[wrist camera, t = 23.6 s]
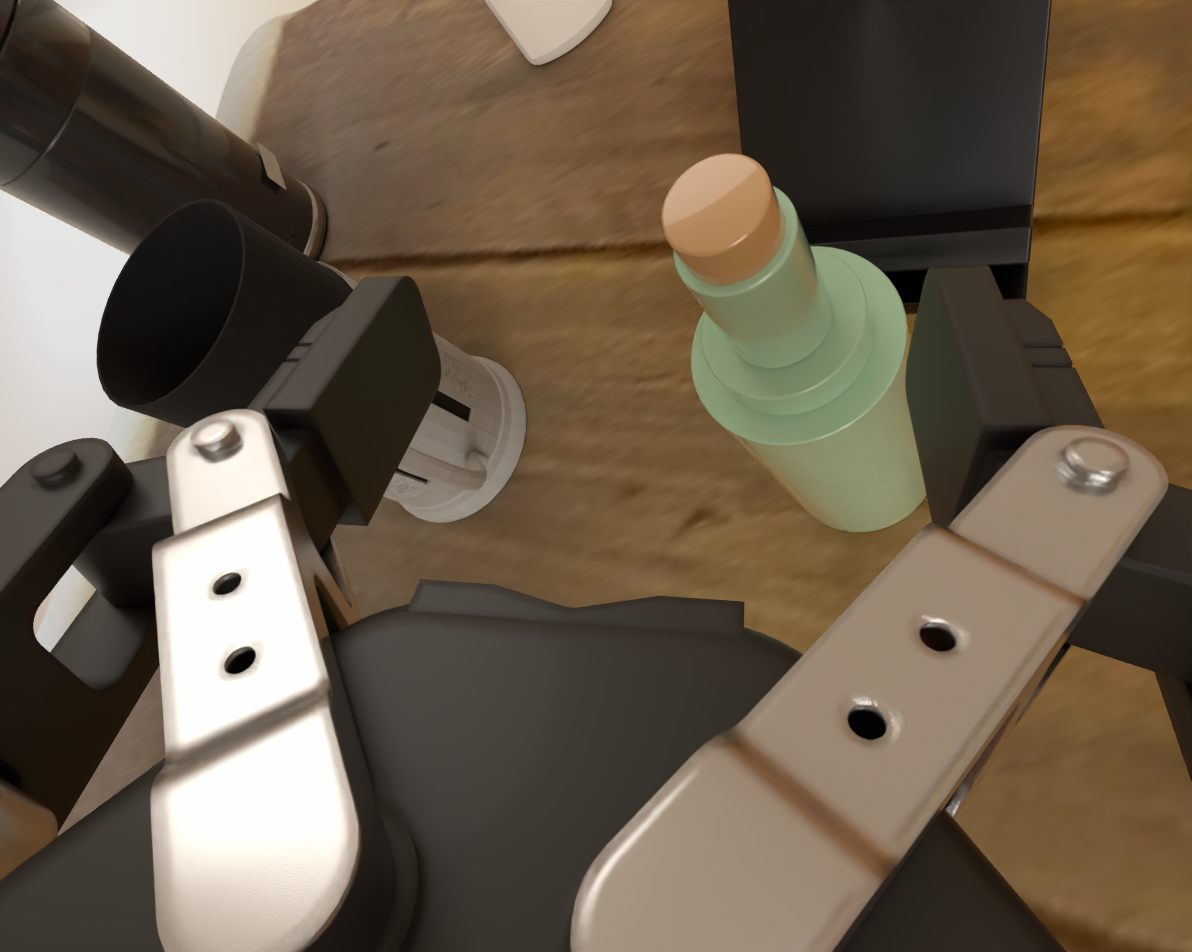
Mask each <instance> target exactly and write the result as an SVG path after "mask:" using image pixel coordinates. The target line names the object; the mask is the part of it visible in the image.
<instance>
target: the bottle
mask: <svg viewBox="0 0 1192 952" xmlns="http://www.w3.org/2000/svg"><path fill="white" fill-rule="evenodd" d="M661 225H662V230H663V233H664V236H665V238H666V240H667V242H668V243H669V244H670V246H671V247H672V249H673V250H674V264H675V268H676V271H677V273H678V275H679V277H680V279H681V280H682V281H683V283H684V284H685V285H686V287H687V288H688V289H689V291H690V292H691V293H692V295H693V296H694V297H695V299H696V300H697V302H698V303H699V304H700V306H701V307H702V308H703V310H704V312H703V314H702V316H701V318H700V320H699V323H698V325H697V328H696V331H695V334H694V338H693V342H692V349H691V372H692V378H693V383H694V386H695V389H696V392H697V394H698V396H699V398H700V400H701V402H702V404H703V406H704V407H705V408H706V410H707V411H708V413H709V414H710V415H711V416H712V417H713V418H714V419H715V420H716V421H717V422H718V423H719V424H720V425H721V426H722V427H723V428H724V429H725V430H726V431H727V432H728V433H729V434H730V435H731V436H732V437H733V438H734V439H735V440H736V441H737V442H738V443H739V444H740V445H741V446H742V447H743V448H744V449H745V450H746V451H747V452H748V453H749V454H750V455H751V456H752V457H753V458H754V459H755V460H756V461H757V462H758V463H759V464H760V465H761V466H762V467H763V468H764V469H765V470H766V471H767V472H768V473H769V474H770V475H771V476H772V477H773V478H774V479H775V480H776V481H777V482H778V483H779V484H780V485H781V486H782V487H783V488H784V489H785V490H786V491H787V492H788V493H789V494H790V495H791V496H792V497H793V498H794V499H795V500H796V501H797V502H798V503H799V505H800V506H801V507H802V508H803V509H804V510H805V511H806V512H807V513H809V514H810V515H811V516H812V517H814V518H815V519H816V520H818V521H820V522H821V523H823V524H825V525H827V526H829V527H832V528H835V529H838V530H843V531H849V532H869V531H874V530H879V529H882V528H885V527H888V526H891V525H893V524H895V523H897V522H899V521H900V520H902V519H904V518H905V517H907V516H908V515H909V514H910V513H911V512H913V511H914V510H915V509H916V508H917V507H918V505H919V504H920V503H921V502H922V501H923V499H924V498H925V496H926V495H927V494H926V489H925V484H924V480H923V475H922V470H921V465H920V460H919V456H918V451H917V446H916V441H915V437H914V432H913V427H912V422H911V417H910V413H909V408H908V403H907V398H906V389H905V377H906V365H907V358H908V353H909V348H910V344H911V336H910V332H909V327H908V322H907V318H906V313H905V310H904V306H903V303H902V300H901V298H900V296H899V294H898V292H897V289H896V288H895V287H894V285H893V284H892V282H891V281H890V279H889V278H888V277H887V276H886V275H885V274H884V273H883V272H882V271H881V270H880V269H879V268H878V267H876V266H875V265H874V264H872V263H871V262H870V261H868V260H866V259H864V258H862V257H860V256H859V255H856V254H853V253H851V252H848V251H845V250H841V249H837V248H832V247H822V246H810V245H809V242H808V240H807V237H806V235H805V232H804V230H803V227H802V225H801V222H800V220H799V217H798V214H797V212H796V210H795V207H794V205H793V203H792V202H791V200H790V199H789V197H788V196H787V195H786V194H785V193H784V192H782V191H781V190H780V189H778V188H776V187H774V186H773V185H772V183H771V181H770V178H769V176H768V173H767V172H766V170H765V169H764V168H763V166H762V165H761V164H760V163H758V162H757V161H756V160H754V159H752V158H750V157H748V156H745V155H742V154H736V153H725V154H719V155H714V156H711V157H708V158H706V159H704V160H701V161H700V162H698V163H696V164H694V165H693V166H692V167H690V168H689V169H688V170H686V171H685V172H684V173H683V174H682V175H681V176H680V177H679V178H678V179H677V180H676V182H675V183H674V184H673V185H672V187H671V189H670V190H669V192H668V194H667V196H666V198H665V201H664V204H663V208H662V214H661Z"/></svg>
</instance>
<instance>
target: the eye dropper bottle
mask: <svg viewBox="0 0 1192 952" xmlns="http://www.w3.org/2000/svg"><path fill="white" fill-rule="evenodd" d="M484 1H485V3H486V4H487V5H488V7H489V8H490V10H491V11H492V12H493V14H494V15H495V16H496V18H497V19H498V21H499V22H500V23H501V25H502V26H503V27H504V29H505V30H506V32H507V33H508V34H509V36H510V37H511V38H512V40H513V41H514V43H515V44H516V45H517V47H518V48H519V49H520V51H521V52H522V54H523V55H524V56H525V58H526V59H527V60H528V61H529V62H530V63H532V64H533V65H542V64H545V63H547V62H550V61H552V60H554V59H556V58H558V57H560V56H562V55H563V54H565V53H567V52H568V51H570V50H571V49H573V48H574V47H575V46H577V45H578V44H579V43H581V42H582V41H583V40H584V39H585V38H586V37H587V36H588V35H589V34H590V33H591V32H592V31H593V30H594V29H595V28H596V27H597V26H598V25H599V24H600V22H601V21H602V20H603V19H604V17H605V16H606V15H607V13H608V12H609V10H610V8H611V5H612V0H484Z"/></svg>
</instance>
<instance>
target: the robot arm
mask: <svg viewBox="0 0 1192 952" xmlns="http://www.w3.org/2000/svg"><path fill="white" fill-rule="evenodd" d="M257 144H258V147H259V151H260V152H258V151H257V150H256V149H254V148H253V147H252V146H250V145H249V144H248V143H246V142H245V141H244V140H242V139H241V138H239V137H238V136H237V135H235V134H234V133H233V132H231V131H230V130H229V129H227V128H226V127H225V126H223V125H222V124H221V123H219V122H218V121H216V120H215V119H214V118H212V117H211V116H210V115H208V114H207V113H206V112H204V111H203V110H202V109H200V108H199V107H198V106H196V105H195V104H193V103H192V102H191V101H189V100H188V99H187V98H185V97H184V96H182V95H181V94H180V93H179V92H177V91H176V90H175V89H173V88H172V87H170V86H169V85H168V84H166V83H165V82H164V81H162V80H161V79H160V78H158V77H157V76H156V75H154V74H153V73H152V72H150V71H149V70H147V69H146V68H145V67H143V66H142V65H141V64H139V63H138V62H137V61H135V60H134V59H132V58H131V57H130V56H128V55H127V54H126V53H124V52H123V51H121V50H120V49H119V48H118V47H116V46H115V45H114V44H112V43H111V42H110V41H108V40H107V39H105V38H104V37H103V36H101V35H100V34H98V33H97V32H96V31H95V30H93V29H92V28H91V27H89V26H88V25H86V24H85V23H84V22H82V21H81V20H79V19H78V18H77V17H75V16H74V15H73V14H71V13H70V12H68V11H67V10H66V9H64V8H63V7H62V6H60V5H59V4H58V3H56V2H55V1H54V0H0V189H1V190H3V191H5V192H7V193H9V194H11V195H13V196H15V197H16V198H19V199H20V200H23V201H24V202H26V203H28V204H30V205H32V206H34V207H36V208H38V209H40V210H42V211H44V212H46V213H48V214H50V215H52V216H54V217H56V218H58V219H60V220H62V221H63V222H66V223H67V224H69V225H71V226H73V227H75V228H77V229H79V230H81V231H83V232H85V233H87V234H89V235H91V236H93V237H95V238H97V239H99V240H101V241H103V242H104V243H107V244H108V245H110V246H112V247H114V248H116V249H118V250H120V251H122V252H124V253H126V254H128V255H130V256H131V254H132V253H133V251H134V250H135V249H136V247H137V246H138V245H139V243H140V242H141V241H142V240H143V238H144V237H145V236H146V235H147V234H148V233H149V232H150V231H151V230H152V229H153V228H154V226H155V225H156V224H158V223H159V222H160V221H161V220H162V219H164V218H165V217H166V216H167V215H168V214H170V213H171V212H173V211H174V210H176V209H178V208H179V207H181V206H183V205H185V204H188V203H190V202H192V201H196V200H201V199H216V200H218V201H221V202H224V203H226V204H227V205H229V206H230V207H232V208H234V209H235V210H237V211H238V212H240V213H241V214H243V215H244V216H246V217H248V218H249V219H251V220H252V221H254V222H255V223H257V224H258V225H260V226H262V227H263V228H265V229H266V230H268V231H269V232H271V233H272V234H274V235H276V236H277V237H279V238H280V239H282V240H283V241H285V242H287V243H288V244H290V245H291V246H293V247H294V248H296V249H297V250H299V251H301V252H302V253H304V254H305V255H307V256H308V257H310V258H311V259H313V260H315V261H316V260H317V258H318V256H319V253H320V251H321V247H322V244H323V240H324V235H325V228H326V215H325V209H324V205H323V203H322V200H321V199H320V197H319V196H318V195H317V193H316V192H314V191H313V190H312V189H310V188H309V187H308V186H306V185H305V184H304V183H302V182H301V181H299V180H297V179H294V178H293V177H292V176H290V175H289V174H288V173H286V172H285V171H284V170H282V169H281V168H280V167H279V166H278V163H277V160H276V157H275V155H274V154H273V153H271V152H270V151H269V150H267V149H266V148H265V147H263V146H262V145H261V144H259V143H258V142H257ZM1062 346H1063V342H1062V340H1061V338H1060V336H1059V334H1058V332H1057V330H1056V328H1055V326H1054V324H1053V322H1052V320H1051V319H1049V318H1048V317H1047V316H1046V315H1044V314H1043V313H1042V312H1040V311H1039V310H1038V309H1036V308H1035V307H1034V306H1033V305H1031V304H1030V303H1029V302H1027V301H1026V300H1003V297H1002V295H1001V293H1000V290H999V288H998V286H997V283H996V281H995V279H994V276H993V274H992V271H991V269H990V267H989V266H987V265H967V266H932V267H930V268H929V270H928V272H927V274H926V277H925V280H924V284H923V289H922V293H921V298H920V303H919V307H918V312H917V316H916V321H915V325H914V330H913V335H912V339H911V344H910V348H909V353H908V358H907V365H906V377H905V389H906V398H907V403H908V408H909V413H910V417H911V422H912V427H913V432H914V437H915V441H916V446H917V451H918V456H919V460H920V465H921V470H922V475H923V480H924V484H925V489H926V494H927V499H928V503H929V508H930V513H931V518H932V523H930V524H928V525H926V526H925V527H924V528H923V529H922V530H921V531H920V532H919V533H918V534H917V535H916V536H915V537H914V538H913V539H912V540H911V541H910V542H909V543H908V544H907V545H906V546H905V547H904V548H903V549H902V551H901V552H900V553H899V554H898V555H897V556H896V557H895V558H894V559H893V560H892V561H891V562H890V563H889V564H888V565H887V567H886V568H885V569H884V570H883V571H882V572H881V573H880V574H879V575H878V576H877V577H876V578H875V579H874V580H873V581H872V583H871V584H870V585H869V586H868V587H867V588H866V589H865V590H864V591H863V592H862V593H861V594H860V595H859V596H858V597H857V598H856V600H855V601H854V602H853V603H852V604H851V605H850V606H849V607H848V608H847V609H846V610H845V611H844V612H843V613H842V614H841V616H840V617H839V618H838V619H837V620H836V621H835V622H834V623H833V624H832V625H831V626H830V627H829V628H828V629H827V630H826V632H825V633H824V634H823V635H822V636H821V637H820V638H819V639H818V640H817V641H816V642H815V643H814V644H813V645H812V646H811V647H810V649H809V650H808V651H807V652H806V653H805V654H804V655H803V654H801V653H800V652H798V651H796V650H795V649H793V648H791V647H789V646H788V645H786V644H784V643H782V642H781V641H779V640H776V639H774V638H772V637H770V636H767V635H765V634H763V633H760V632H757V631H754V630H751V629H748V628H745V627H744V602H740V601H726V600H711V599H697V598H682V597H668V596H655V597H648V598H641V599H635V600H628V601H621V602H614V603H607V604H600V605H593V606H587V607H580V608H568V607H564V606H560V605H557V604H554V603H551V602H548V601H544V600H541V599H538V598H535V597H532V596H529V595H526V594H522V593H519V592H516V591H513V590H510V589H507V588H504V587H500V586H497V585H493V584H478V583H464V582H449V581H435V580H420V581H419V584H418V586H417V588H416V591H415V593H414V596H413V598H412V600H411V603H410V604H408V605H403V606H399V607H395V608H392V609H388V610H384V611H381V612H379V613H376V614H373V615H370V616H368V617H365V618H363V619H362V618H361V615H360V612H359V609H358V606H357V603H356V600H355V597H354V594H353V591H352V588H351V585H350V582H349V579H348V577H347V574H346V571H345V568H344V565H343V562H342V559H341V556H340V553H339V550H338V547H337V545H336V543H335V542H334V540H333V538H332V536H331V534H332V532H333V531H334V529H335V527H336V525H337V524H344V525H363V526H368V524H369V522H370V520H371V518H372V516H373V514H374V512H375V510H376V509H377V507H378V505H379V503H380V501H381V499H382V497H383V495H384V493H385V491H386V489H387V487H388V485H389V483H390V482H391V480H392V478H393V476H394V474H395V472H396V470H397V468H398V466H399V464H400V462H401V460H402V458H403V456H404V455H405V453H406V451H407V449H408V447H409V445H410V443H411V441H412V439H413V437H414V435H415V433H416V431H417V430H418V428H419V426H420V424H421V422H422V420H423V418H424V416H425V414H426V412H427V410H428V408H429V406H430V404H431V403H432V401H433V399H434V397H435V395H436V393H437V391H438V388H439V385H440V381H441V360H440V355H439V352H438V349H437V345H436V342H435V339H434V336H433V333H432V330H431V327H430V323H429V320H428V317H427V314H426V311H425V308H424V305H423V301H422V298H421V295H420V292H419V289H418V287H417V285H416V283H415V282H414V280H413V279H412V278H410V277H408V276H393V277H365V278H363V279H362V280H361V281H360V282H359V284H358V285H357V286H356V287H355V289H354V290H353V291H352V293H351V294H350V295H349V296H348V298H347V299H346V300H345V302H344V303H343V304H342V306H341V307H337V308H336V309H335V310H333V311H332V312H330V313H329V314H327V315H326V316H324V317H323V318H322V319H320V320H319V321H317V322H316V323H314V324H313V325H312V327H311V328H310V329H309V331H308V332H307V333H306V334H305V336H304V337H303V338H302V339H301V341H300V342H299V347H295V348H294V349H293V351H292V352H291V353H290V354H289V356H288V357H287V358H286V359H287V362H283V363H282V364H281V366H280V367H279V368H278V370H277V371H276V372H275V373H274V375H273V376H272V377H271V378H270V380H269V381H268V382H267V383H266V385H265V386H264V387H263V388H262V390H261V391H260V392H259V393H258V395H257V396H256V397H255V398H254V400H253V401H252V402H251V403H250V405H249V406H248V407H247V409H236V410H228V411H224V412H220V413H217V414H214V415H211V416H209V417H206V418H204V419H202V420H200V421H198V422H196V423H195V424H193V425H191V426H190V427H188V428H187V429H186V430H184V431H183V432H182V433H181V434H180V435H179V436H178V437H177V438H176V439H175V440H174V441H173V442H172V444H171V446H170V447H169V449H168V452H167V455H166V456H161V457H156V458H151V459H146V460H141V461H136V462H131V463H126V464H125V463H124V462H123V461H122V460H121V458H120V457H119V456H118V454H117V453H116V452H115V451H114V449H113V448H112V447H111V445H110V444H109V443H108V442H106V441H104V440H102V439H97V438H82V439H77V440H72V441H69V442H65V443H62V444H60V445H57V446H54V447H53V448H50V449H48V450H46V451H44V452H42V453H40V454H38V455H37V456H35V457H34V458H33V459H31V460H29V461H28V462H27V463H25V464H24V465H23V466H22V467H21V468H20V469H19V470H17V471H16V472H15V474H13V475H12V476H11V478H10V479H9V480H8V481H7V482H6V483H5V484H4V485H3V486H2V487H1V488H0V952H1066V950H1065V949H1064V948H1063V947H1062V946H1061V945H1060V943H1059V942H1058V941H1057V940H1056V939H1055V937H1054V936H1053V935H1052V934H1051V933H1050V932H1049V930H1048V929H1047V928H1046V927H1045V926H1044V925H1043V923H1042V922H1041V921H1040V920H1039V919H1038V918H1037V916H1036V915H1035V914H1034V913H1033V912H1032V910H1031V909H1030V908H1029V907H1028V906H1027V905H1026V903H1025V902H1024V901H1023V900H1022V899H1021V898H1020V896H1019V895H1018V894H1017V893H1016V892H1015V890H1014V889H1013V888H1012V887H1011V886H1010V885H1009V883H1008V882H1007V881H1006V880H1005V879H1004V878H1003V876H1002V875H1001V874H1000V873H999V872H998V871H997V869H996V868H995V867H994V866H993V865H992V863H991V862H990V861H989V860H988V859H987V858H986V856H985V855H984V854H983V853H982V852H981V851H980V849H979V848H978V847H977V846H976V845H975V843H974V842H973V841H972V840H971V839H970V838H969V836H968V835H967V834H966V833H965V832H964V831H963V829H962V828H961V827H960V826H959V825H958V824H957V822H956V821H955V820H954V819H955V818H956V816H957V815H958V813H959V812H960V810H961V809H962V807H963V806H964V805H965V803H966V802H967V800H968V799H969V797H970V796H971V794H972V793H973V791H974V790H975V788H976V787H977V785H978V784H979V782H980V781H981V779H982V778H983V776H984V775H985V773H986V772H987V770H988V768H989V767H990V765H991V764H992V762H993V761H994V759H995V757H996V756H997V754H998V753H999V751H1000V750H1001V748H1002V747H1003V745H1004V744H1005V742H1006V741H1007V739H1008V738H1009V737H1010V735H1011V734H1012V732H1013V731H1014V729H1015V728H1016V726H1017V725H1018V724H1019V722H1020V721H1021V719H1022V718H1023V716H1024V715H1025V713H1026V712H1027V711H1028V709H1029V708H1030V706H1031V705H1032V703H1033V702H1034V700H1035V699H1036V698H1037V696H1038V695H1039V693H1040V692H1041V690H1042V689H1043V688H1044V686H1045V685H1046V683H1047V682H1048V680H1049V679H1050V677H1051V676H1052V675H1053V673H1054V672H1055V670H1056V669H1057V667H1058V666H1059V664H1060V663H1061V662H1062V660H1063V659H1064V657H1065V656H1066V654H1067V653H1068V652H1069V650H1070V649H1071V647H1072V646H1073V645H1074V646H1077V647H1080V648H1083V649H1086V650H1089V651H1093V652H1096V653H1099V654H1102V655H1105V656H1108V657H1111V658H1114V659H1117V660H1120V661H1123V662H1126V663H1129V664H1133V665H1136V666H1139V667H1142V668H1145V669H1148V670H1151V671H1154V672H1155V675H1156V678H1157V681H1158V684H1159V687H1160V690H1161V693H1162V696H1163V699H1164V702H1165V705H1166V708H1167V711H1168V713H1169V716H1170V719H1171V722H1172V725H1173V728H1174V731H1175V734H1176V737H1177V740H1178V743H1179V746H1180V749H1181V752H1182V755H1183V758H1184V761H1185V763H1186V766H1187V769H1188V772H1189V775H1190V778H1191V781H1192V490H1190V489H1186V488H1183V487H1179V486H1176V485H1174V484H1171V483H1168V477H1167V473H1166V471H1165V469H1164V467H1163V465H1162V464H1161V463H1160V461H1159V460H1158V459H1157V458H1156V457H1155V456H1154V455H1153V454H1152V453H1151V452H1150V451H1148V450H1147V449H1146V448H1144V447H1143V446H1141V445H1140V444H1138V443H1136V442H1135V441H1133V440H1131V439H1129V438H1127V437H1124V436H1122V435H1120V434H1117V433H1114V432H1111V431H1108V430H1105V428H1104V426H1103V424H1102V422H1101V420H1100V418H1099V416H1098V414H1097V412H1096V410H1095V408H1094V405H1093V403H1092V401H1091V399H1090V397H1089V395H1088V393H1087V391H1086V389H1085V387H1084V385H1083V383H1082V381H1081V379H1080V377H1079V375H1078V373H1077V371H1076V369H1075V368H1072V361H1071V359H1070V357H1069V355H1068V353H1067V351H1066V349H1065V348H1062ZM71 565H73V566H74V567H75V568H76V569H77V570H78V571H79V572H80V573H81V574H82V575H83V576H84V577H85V578H86V579H87V580H88V581H89V582H90V583H91V584H92V585H93V586H94V587H95V588H96V589H97V590H96V591H95V592H94V594H93V595H92V596H91V598H90V599H89V601H88V602H87V603H86V605H85V606H84V607H83V609H82V610H81V611H80V613H79V614H78V615H77V617H76V618H75V620H74V621H73V622H72V624H71V625H70V626H69V628H68V629H67V630H66V632H65V633H64V635H63V636H62V637H61V639H60V640H59V641H58V643H57V644H56V645H55V647H54V648H53V650H52V651H51V652H48V651H47V650H46V649H45V648H44V647H43V646H41V645H40V644H39V642H38V641H37V639H36V637H35V635H34V630H33V622H34V617H35V614H36V611H37V609H38V607H39V606H40V604H41V603H42V602H43V600H44V599H45V598H46V597H47V595H48V594H49V593H50V592H51V590H52V589H53V588H54V587H55V585H56V584H57V583H58V581H59V580H60V579H61V578H62V576H63V575H64V574H65V573H66V571H67V570H68V569H69V567H70V566H71ZM159 665H160V677H161V691H162V705H163V720H164V734H165V748H166V758H164V759H163V760H162V761H160V762H159V763H157V764H156V765H155V766H153V767H152V768H151V769H149V770H148V771H147V772H145V773H144V774H143V775H141V776H140V777H138V778H137V779H136V780H134V781H133V782H132V783H130V784H129V785H128V786H126V787H125V788H123V789H122V790H121V791H119V792H118V793H117V794H115V795H114V796H113V797H111V798H110V799H109V800H107V801H106V802H104V803H103V804H102V805H100V806H99V807H98V808H96V809H95V810H94V811H92V812H91V813H90V814H88V815H87V816H85V817H84V818H83V819H81V820H80V821H79V822H77V823H76V824H75V825H73V826H72V827H71V828H69V829H68V830H66V831H65V832H64V833H62V834H61V835H60V836H58V832H59V830H60V828H61V827H62V825H63V824H64V822H65V820H66V819H67V817H68V815H69V814H70V812H71V810H72V809H73V807H74V805H75V804H76V802H77V800H78V799H79V797H80V795H81V794H82V792H83V790H84V789H85V787H86V785H87V784H88V782H89V780H90V779H91V777H92V776H93V774H94V772H95V771H96V769H97V767H98V766H99V764H100V762H101V761H102V759H103V757H104V756H105V754H106V752H107V751H108V749H109V747H110V746H111V744H112V742H113V741H114V739H115V737H116V736H117V734H118V732H119V731H120V729H121V728H122V726H123V724H124V723H125V721H126V719H127V718H128V716H129V714H130V713H131V711H132V709H133V708H134V706H135V704H136V703H137V701H138V699H139V698H140V696H141V694H142V693H143V691H144V689H145V688H146V686H147V684H148V683H149V681H150V680H151V678H152V676H153V675H154V673H155V671H156V670H157V668H158V666H159ZM57 836H58V837H57Z"/></svg>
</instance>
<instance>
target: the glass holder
mask: <svg viewBox="0 0 1192 952" xmlns="http://www.w3.org/2000/svg"><path fill="white" fill-rule="evenodd" d="M358 284H359V283H357V282H356V281H354V280H353V279H351V278H349V277H348V276H346V275H345V274H343V273H342V272H340V271H339V270H337V269H336V268H334V267H333V266H331V265H328V264H326V263H324V262H321V261H317V262H316V261H315V260H313V259H311V258H310V257H308V256H307V255H305V254H304V253H302V252H301V251H299V250H297V249H296V248H294V247H293V246H291V245H290V244H288V243H287V242H285V241H283V240H282V239H280V238H279V237H277V236H276V235H274V234H272V233H271V232H269V231H268V230H266V229H265V228H263V227H262V226H260V225H258V224H257V223H255V222H254V221H252V220H251V219H249V218H248V217H246V216H244V215H243V214H241V213H240V212H238V211H237V210H235V209H234V208H232V207H230V206H229V205H227V204H226V203H224V202H221V201H218V200H216V199H201V200H196V201H192V202H190V203H188V204H185V205H183V206H181V207H179V208H178V209H176V210H174V211H173V212H171V213H170V214H168V215H167V216H166V217H165V218H164V219H162V220H161V221H160V222H159V223H158V224H156V225H155V226H154V228H153V229H152V230H151V231H150V232H149V233H148V234H147V235H146V236H145V237H144V238H143V240H142V241H141V242H140V243H139V245H138V246H137V247H136V249H135V250H134V251H133V253H132V254H131V256H130V257H129V259H128V261H127V262H126V264H125V265H124V267H123V269H122V271H121V273H120V274H119V276H118V278H117V280H116V282H115V284H114V286H113V289H112V291H111V293H110V296H109V298H108V301H107V304H106V307H105V310H104V313H103V316H102V321H101V325H100V329H99V334H98V342H97V369H98V374H99V379H100V382H101V384H102V388H103V390H104V391H105V393H106V394H107V396H108V397H109V399H110V400H112V401H113V402H114V403H115V404H117V405H118V406H121V407H124V408H127V409H130V410H133V411H136V412H139V413H142V414H145V415H148V416H151V417H154V418H157V419H160V420H163V421H166V422H169V423H172V424H175V425H178V426H181V427H184V428H188V427H190V426H191V425H193V424H195V423H196V422H198V421H200V420H202V419H204V418H206V417H209V416H211V415H214V414H217V413H220V412H224V411H228V410H236V409H247V407H248V406H249V405H250V403H251V402H252V401H253V400H254V398H255V397H256V396H257V395H258V393H259V392H260V391H261V390H262V388H263V387H264V386H265V385H266V383H267V382H268V381H269V380H270V378H271V377H272V376H273V375H274V373H275V372H276V371H277V370H278V368H279V367H280V366H281V364H282V363H283V362H287V359H286V358H287V357H288V356H289V354H290V353H291V352H292V351H293V349H294V348H295V347H299V342H300V341H301V339H302V338H303V337H304V336H305V334H306V333H307V332H308V331H309V329H310V328H311V327H312V325H313V324H314V323H316V322H317V321H319V320H320V319H322V318H323V317H324V316H326V315H327V314H329V313H330V312H332V311H333V310H335V309H336V308H337V307H341V306H342V304H343V303H344V302H345V300H346V299H347V298H348V296H349V295H350V294H351V293H352V291H353V290H354V289H355V287H356V286H357V285H358ZM432 333H433V336H434V339H435V342H436V345H437V349H438V352H439V355H440V360H441V381H440V385H439V388H438V391H437V393H436V395H435V397H434V399H433V401H432V403H431V404H430V406H429V408H428V410H427V412H426V414H425V416H424V418H423V420H422V422H421V424H420V426H419V428H418V430H417V431H416V433H415V435H414V437H413V439H412V441H411V443H410V445H409V447H408V449H407V451H406V453H405V455H404V456H403V458H402V460H401V462H400V464H399V466H398V468H397V470H396V472H395V474H394V476H393V478H392V480H391V482H390V483H389V485H388V487H387V489H386V491H385V493H384V495H383V497H385V498H388V499H391V500H394V501H397V502H399V503H400V504H401V505H402V506H403V507H404V508H405V509H406V510H407V511H408V512H410V513H411V514H413V515H414V516H416V517H418V518H420V519H423V520H426V521H429V522H438V523H443V522H452V521H456V520H459V519H462V518H465V517H467V516H469V515H471V514H473V513H475V512H477V511H479V510H480V509H481V508H482V507H484V506H485V505H486V504H488V503H489V502H490V501H491V500H492V499H493V498H494V497H495V496H496V495H497V494H498V493H499V492H500V491H501V489H502V488H503V487H504V485H505V484H506V482H507V481H508V480H509V478H510V477H511V475H512V473H513V471H514V469H515V467H516V465H517V463H518V460H519V457H520V454H521V452H522V449H523V444H524V439H525V434H526V409H525V402H524V399H523V396H522V392H521V390H520V388H519V386H518V384H517V382H516V380H515V379H514V377H513V376H512V375H511V374H510V373H509V372H508V370H507V369H505V368H504V367H502V366H501V365H500V364H498V363H497V362H494V361H492V360H490V359H487V358H484V357H478V356H469V355H468V354H466V353H465V352H463V351H462V350H460V349H459V348H457V347H456V346H454V345H453V344H451V343H449V342H448V341H446V340H445V339H443V338H442V337H440V336H439V335H437V334H436V333H434V332H433V331H432Z"/></svg>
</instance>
